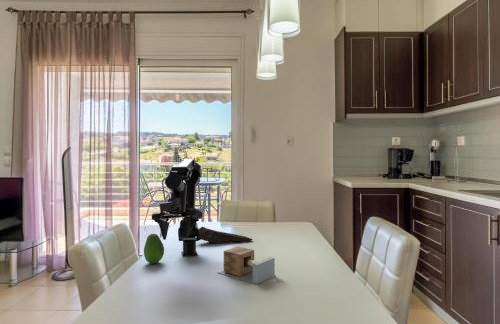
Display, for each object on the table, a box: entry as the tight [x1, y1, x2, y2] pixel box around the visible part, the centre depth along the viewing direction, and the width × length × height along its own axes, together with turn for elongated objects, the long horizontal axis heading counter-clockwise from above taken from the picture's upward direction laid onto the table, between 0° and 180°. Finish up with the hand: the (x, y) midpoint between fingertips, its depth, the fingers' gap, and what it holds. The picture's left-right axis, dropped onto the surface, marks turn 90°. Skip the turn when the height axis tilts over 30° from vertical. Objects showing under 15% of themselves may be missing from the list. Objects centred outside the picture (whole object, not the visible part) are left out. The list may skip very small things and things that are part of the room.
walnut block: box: [223, 246, 255, 276], centre depth 130 cm, size 8×8×8 cm
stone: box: [199, 226, 253, 244], centre depth 176 cm, size 28×6×10 cm, turn 99°
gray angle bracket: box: [218, 256, 276, 285], centre depth 128 cm, size 18×11×6 cm, turn 51°
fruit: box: [143, 233, 165, 265], centre depth 142 cm, size 8×8×12 cm
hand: (174, 238), depth 127 cm, fingers open, 9 cm apart
